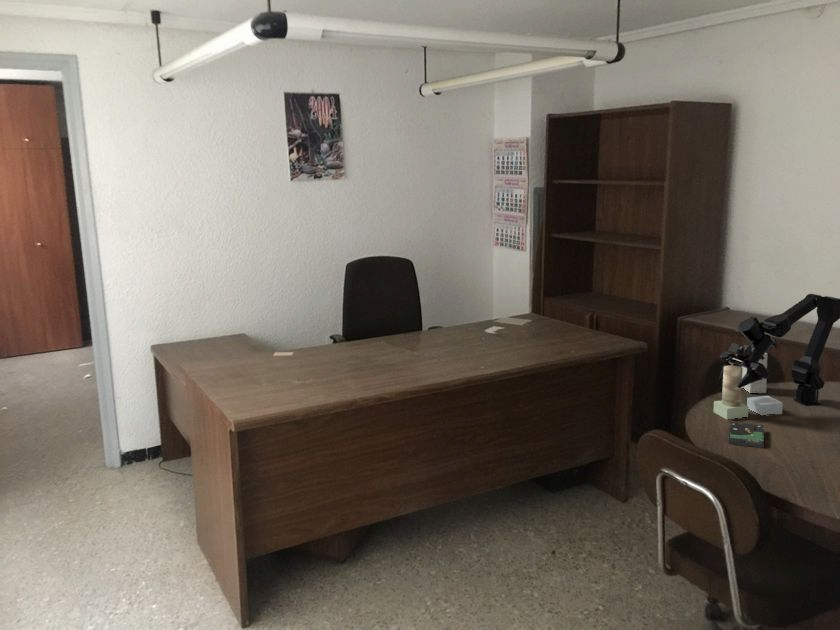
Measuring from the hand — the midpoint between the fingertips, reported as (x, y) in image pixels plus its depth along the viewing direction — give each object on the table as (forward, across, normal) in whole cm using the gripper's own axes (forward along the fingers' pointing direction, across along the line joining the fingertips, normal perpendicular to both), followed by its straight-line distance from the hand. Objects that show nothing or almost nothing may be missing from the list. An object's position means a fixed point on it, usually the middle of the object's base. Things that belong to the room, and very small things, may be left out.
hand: (728, 383), depth 244 cm
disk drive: (+14, +18, +3) cm, 24 cm away
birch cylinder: (+4, 0, +6) cm, 8 cm away
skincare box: (-10, -18, +27) cm, 34 cm away
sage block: (+7, 0, +9) cm, 12 cm away
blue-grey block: (-2, +2, +18) cm, 18 cm away
